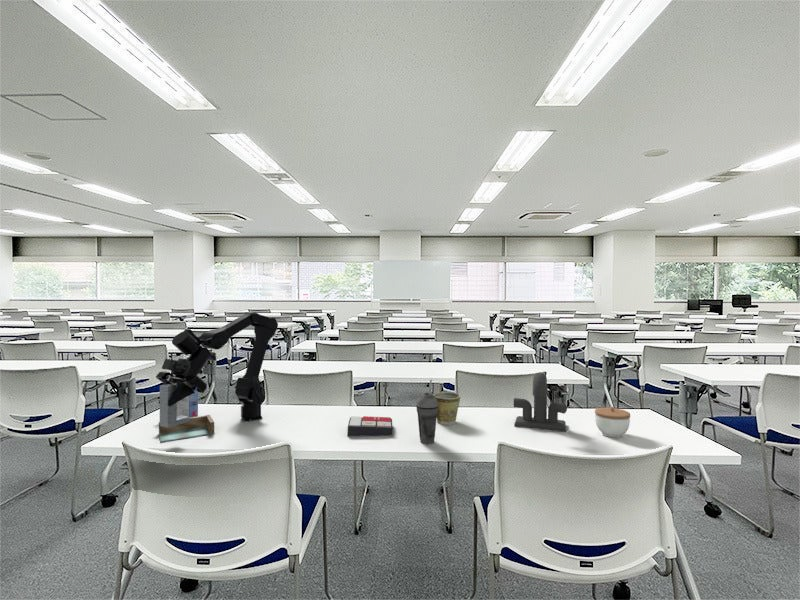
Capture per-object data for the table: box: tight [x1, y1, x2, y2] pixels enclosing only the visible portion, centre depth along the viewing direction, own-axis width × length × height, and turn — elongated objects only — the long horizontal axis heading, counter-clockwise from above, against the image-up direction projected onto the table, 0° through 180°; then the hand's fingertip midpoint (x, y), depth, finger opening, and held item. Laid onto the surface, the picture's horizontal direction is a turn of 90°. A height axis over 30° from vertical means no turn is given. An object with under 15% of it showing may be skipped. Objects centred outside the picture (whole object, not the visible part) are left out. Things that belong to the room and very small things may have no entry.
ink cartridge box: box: [177, 388, 199, 418], centre depth 168 cm, size 10×6×14 cm, turn 78°
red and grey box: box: [346, 415, 394, 437], centre depth 151 cm, size 11×4×15 cm
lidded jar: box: [594, 406, 631, 439], centre depth 147 cm, size 11×11×9 cm
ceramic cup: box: [432, 391, 461, 426], centre depth 162 cm, size 13×10×10 cm
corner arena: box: [158, 414, 215, 443], centre depth 148 cm, size 16×10×4 cm, turn 122°
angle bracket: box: [159, 384, 190, 428], centre depth 138 cm, size 8×4×12 cm, turn 151°
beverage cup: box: [415, 379, 439, 445], centre depth 140 cm, size 7×7×20 cm
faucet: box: [513, 372, 568, 433], centre depth 153 cm, size 18×16×20 cm
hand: (164, 404), depth 135 cm, fingers closed on angle bracket, 4 cm apart
